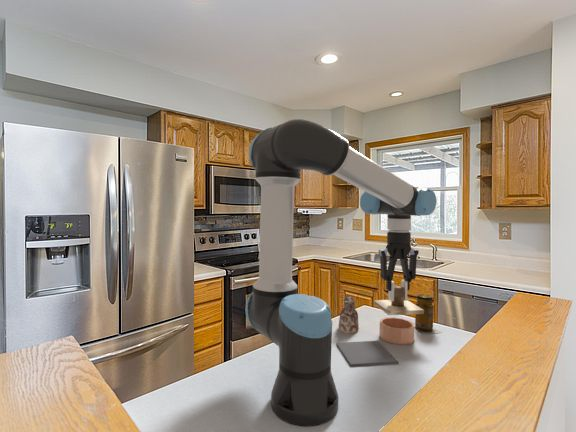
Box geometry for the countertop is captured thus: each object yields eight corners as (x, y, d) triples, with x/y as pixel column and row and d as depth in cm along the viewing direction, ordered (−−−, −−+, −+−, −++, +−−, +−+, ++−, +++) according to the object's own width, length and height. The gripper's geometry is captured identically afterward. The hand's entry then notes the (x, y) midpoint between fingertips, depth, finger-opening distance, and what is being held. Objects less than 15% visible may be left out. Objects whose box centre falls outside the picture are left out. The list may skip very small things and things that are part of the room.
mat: (350, 366, 90) (350, 364, 90) (336, 344, 104) (336, 342, 104) (398, 363, 92) (398, 361, 92) (377, 342, 106) (377, 340, 106)
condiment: (426, 324, 123) (427, 293, 122) (441, 332, 114) (442, 299, 114) (409, 325, 121) (410, 294, 121) (423, 334, 113) (424, 300, 112)
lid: (388, 315, 103) (389, 292, 102) (373, 303, 115) (373, 283, 114) (423, 313, 104) (424, 291, 104) (405, 302, 116) (405, 282, 116)
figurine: (338, 332, 114) (338, 298, 113) (338, 325, 121) (339, 293, 120) (359, 333, 113) (359, 299, 112) (357, 326, 120) (358, 294, 119)
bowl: (388, 345, 104) (388, 330, 103) (374, 331, 114) (374, 318, 114) (420, 343, 105) (420, 328, 105) (403, 330, 116) (404, 316, 116)
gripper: (416, 230, 113) (415, 295, 114) (370, 230, 111) (369, 297, 112) (428, 231, 106) (427, 302, 107) (379, 232, 104) (378, 304, 104)
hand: (397, 299), depth 109 cm, fingers closed on lid, 4 cm apart
